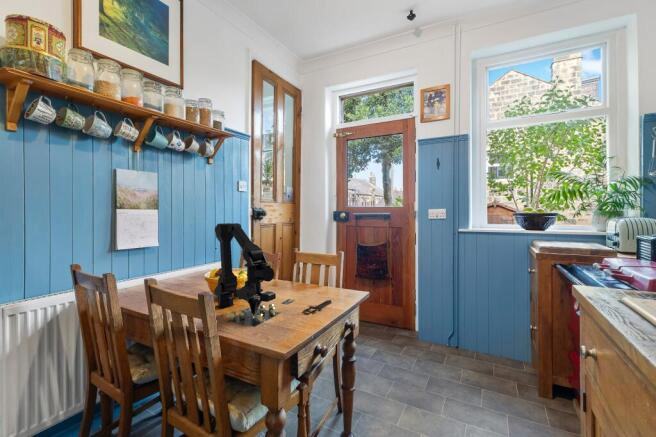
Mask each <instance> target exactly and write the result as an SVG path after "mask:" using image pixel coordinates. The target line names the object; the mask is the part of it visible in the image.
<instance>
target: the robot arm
mask: <svg viewBox="0 0 656 437" xmlns="http://www.w3.org/2000/svg"><path fill="white" fill-rule="evenodd" d="M214 232H215V237H216V239H217V240H218V242H219V249H220V268H221V270H220V272H221V273H220V274H219V277H218V280H217V285H216V287H215V288H214V290H213V291H214V296H217V305H216V306H215V308H217V309H218V308H220V309H228V308H231V307H233V306H235V305H236V304H235V303H234V298H238V300H243V301H246V302H247V303H248V305H249V308H251V311H252V313H253V315H255V314H256V312H257V310H258V309H260V305H262V302H264V303H265V302H266V303H269V302H271V301H274V300H275V299H276V298H277V294H276V293H275V291H268V290H266V291H265V292H264V289H263V288H262V283H263V282H268V283H269V282H271V281H272V280H273V279H274V277H275V274H276V273H275V271H274V269H273V268H272V267H271V264H269V263H268V259H267V258H266V256H265V253H264V251H263V250H262V248H261V247H259V245H258V244H256V243H253V241H251V239H250V238H249V236H248V235H247V233H246V232H245V231H244V229H243V228H242V224H240V223H237V222H234V223H233V222H231V223H230V222H227V223H222V222H221V223H217V224H216V226H215V227H214ZM233 238H234V239H235V240H236V242H237V244H238V245H239V246H240V248H241V250H242V257H243V260H244V261H245V264H244V265H243V266H244V267H245V268H246V280H245V282H244V285H243V286H242V287H240V288H238V276H237V275H235V274H234V272H233V258H232V256H233V255H232V241H233Z"/></svg>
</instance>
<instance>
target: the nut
mask: <svg viewBox="0 0 656 437" xmlns="http://www.w3.org/2000/svg"><path fill="white" fill-rule="evenodd" d="M242 310H245V317H250V316H253V313H252V311H251V308H250V307H246V308H242Z"/></svg>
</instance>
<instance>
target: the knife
mask: <svg viewBox="0 0 656 437" xmlns="http://www.w3.org/2000/svg"><path fill="white" fill-rule="evenodd" d="M331 303H332V300H331V299H328V300H327V299H326V300H324V301H323V302H321V303H319V304H318V305H316V306H309V308H306V309H304V310H302V312H301V314H303V315H305V316H309V315H310V314H312V315H313V316H314V315H315V314H316V313H317V311H318V312H322V309H323V308H324V307H326V306H328V305H330V304H331Z"/></svg>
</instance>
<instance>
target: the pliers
mask: <svg viewBox="0 0 656 437" xmlns="http://www.w3.org/2000/svg"><path fill="white" fill-rule="evenodd" d="M295 300H296V299H291V298H287V299H286V300H284V301H282V302H281V303H280V304H282V305H289V304H292V303H293V302H295Z"/></svg>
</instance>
